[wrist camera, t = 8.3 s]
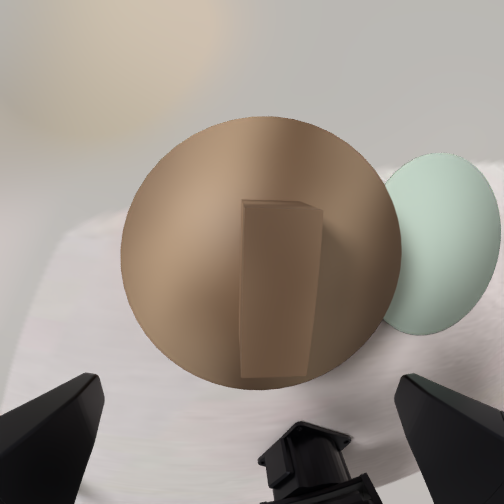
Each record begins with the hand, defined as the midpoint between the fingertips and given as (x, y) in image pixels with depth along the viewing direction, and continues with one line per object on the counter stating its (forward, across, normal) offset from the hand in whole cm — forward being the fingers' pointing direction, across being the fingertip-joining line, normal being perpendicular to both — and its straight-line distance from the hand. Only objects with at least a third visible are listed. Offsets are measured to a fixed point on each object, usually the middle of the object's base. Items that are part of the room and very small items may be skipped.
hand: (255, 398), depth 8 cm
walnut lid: (+7, -1, -2) cm, 7 cm away
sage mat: (+12, -15, -2) cm, 19 cm away
